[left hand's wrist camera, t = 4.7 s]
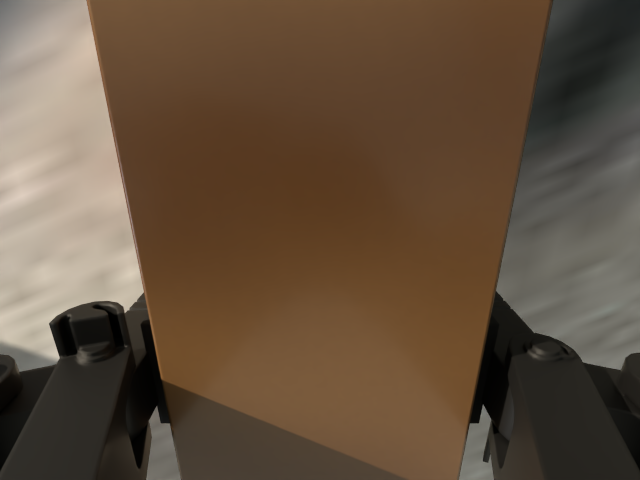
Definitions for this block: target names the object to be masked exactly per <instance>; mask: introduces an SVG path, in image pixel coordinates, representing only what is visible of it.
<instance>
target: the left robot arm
mask: <svg viewBox="0 0 640 480" xmlns="http://www.w3.org/2000/svg"><path fill="white" fill-rule="evenodd" d="M49 325H50V328H51V331H52V334H53V338H54V341H55V344H56V347H57V350H58V353H59V357H60V359H59V361H58V363H57V364H56V365H52V366H47V367H42V368H37V369H32V370H27V371H22V372H19V370H18V368H17V365H16V362H15V360H14V359H13V358H12V357H10V356H9V355H0V480H146V476H147V468H148V461H149V453H150V446H151V438H152V436H151V429H150V424H149V419H150V417H151V415H152V413H153V412H154V410H155V408H156V406H157V407H158V412H159V416H160V421H161V423H170V421H169V416H168V410H167V405H166V400H165V395H164V390H163V385H162V380H161V375H160V370H159V365H158V360H157V355H156V350H155V345H154V339H153V334H152V329H151V324H150V319H149V314H148V309H147V304H146V299H145V294H144V293H143V294H142V295H141V296H140V297H139V299H138V300H137V302H135V303H134V304H133V305H132V306H131V307H130V310H129V311H127V312H126V313H124V308H123V306H121V305H120V304H119V303H116V302H111V301H98V302H91V303H87V304H82V305H79V306H77V307H74V308H71V309H68V310H67V311H65V312H63V313H61V314H60V315H58V316H56V317H55V318H54V319H53V320H52V321H51V322H50V323H49ZM483 404H484V406H485V408H486V410H487V412H488V414H489V416H490V418H491V424H490V429H489V433H488V437H487V442H486V446H485V451H484V457H483V461H484V462H488V461H489V457H490V454H491V460H492V467H493V475H494V480H640V353H633V354H630V355H629V356H628V357H626V359H625V361H624V364H623V367H622V369H621V370H616V369H611V368H606V367H601V366H596V365H591V364H587V363H583V362H582V360H581V358H580V357H579V356H578V354H577V353H576V352H575V351H574V350H573V349H572V348H570V347H569V346H568V345H566V344H565V343H563V342H561V341H559V340H556V339H554V338H552V337H549V336H546V335H542V334H538V333H533V331H532V330H531V329H530V328H529V327H528V326H527V325H526V324H525V323H524V321H523V320H522V319H521V318H520V317H519V316H518V315H517V314H516V313H515V312H514V310H513V309H510V306H509V305H508V304H507V303H506V302H505V301H503V298H502V297H501V296H500V295H499V294H498V293H497V292H495V297H494V303H493V308H492V313H491V318H490V323H489V328H488V333H487V338H486V343H485V348H484V353H483V358H482V363H481V368H480V374H479V379H478V384H477V389H476V394H475V399H474V404H473V409H472V414H471V419H470V423H479V420H480V415H481V410H482V406H483Z"/></svg>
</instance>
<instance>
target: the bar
mask: <svg viewBox="0 0 640 480" xmlns="http://www.w3.org/2000/svg"><path fill="white" fill-rule="evenodd" d="M552 3H553V0H87V5H88V10H89V15H90V20H91V25H92V30H93V35H94V40H95V45H96V50H97V56H98V61H99V66H100V71H101V76H102V81H103V86H104V91H105V96H106V101H107V106H108V111H109V116H110V121H111V127H112V132H113V137H114V142H115V147H116V152H117V157H118V162H119V167H120V172H121V177H122V182H123V187H124V192H125V198H126V203H127V208H128V213H129V218H130V223H131V228H132V233H133V238H134V243H135V248H136V253H137V258H138V263H139V268H140V274H141V279H142V284H143V289H144V294H145V299H146V304H147V309H148V314H149V319H150V324H151V329H152V334H153V339H154V345H155V350H156V355H157V360H158V365H159V370H160V375H161V380H162V385H163V390H164V395H165V400H166V405H167V410H168V416H169V421H170V426H171V431H172V436H173V441H174V446H175V451H176V456H177V461H178V466H179V471H180V476H181V480H459V475H460V470H461V465H462V460H463V455H464V450H465V445H466V439H467V434H468V429H469V424H470V419H471V414H472V409H473V404H474V399H475V394H476V389H477V384H478V379H479V374H480V368H481V363H482V358H483V353H484V348H485V343H486V338H487V333H488V328H489V323H490V318H491V313H492V308H493V303H494V297H495V292H496V287H497V282H498V277H499V272H500V267H501V262H502V257H503V252H504V247H505V242H506V237H507V232H508V226H509V221H510V216H511V211H512V206H513V201H514V196H515V191H516V186H517V181H518V176H519V171H520V166H521V161H522V155H523V150H524V145H525V140H526V135H527V130H528V125H529V120H530V115H531V110H532V105H533V100H534V95H535V90H536V84H537V79H538V74H539V69H540V64H541V59H542V54H543V49H544V44H545V39H546V34H547V29H548V24H549V19H550V13H551V8H552Z"/></svg>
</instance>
